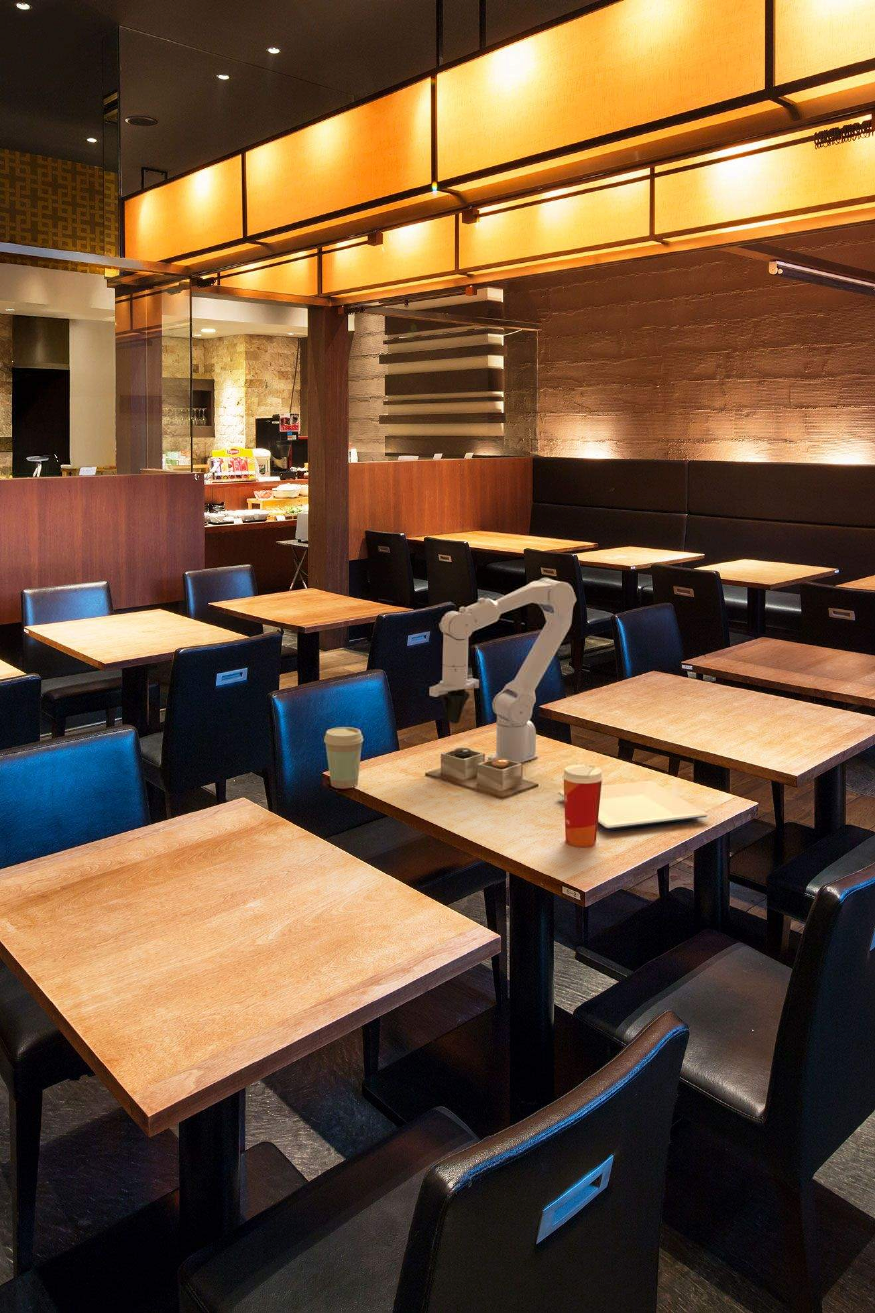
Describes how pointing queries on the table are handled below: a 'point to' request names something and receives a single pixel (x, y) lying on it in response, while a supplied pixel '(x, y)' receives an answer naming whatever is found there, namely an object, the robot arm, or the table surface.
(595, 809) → the paper cup
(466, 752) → the black plunger
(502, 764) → the copper plunger
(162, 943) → the table surface
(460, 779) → the press stand
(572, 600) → the robot arm
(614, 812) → the plate
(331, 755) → the coffee cup
